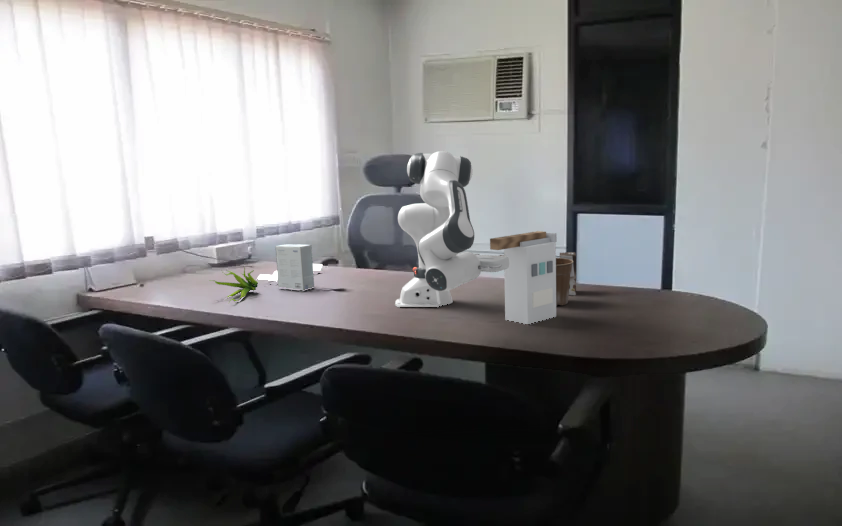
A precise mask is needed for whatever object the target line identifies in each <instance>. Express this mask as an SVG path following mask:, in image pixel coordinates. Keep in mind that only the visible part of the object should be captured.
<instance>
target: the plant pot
mask: <svg viewBox="0 0 842 526" xmlns="http://www.w3.org/2000/svg"><path fill="white" fill-rule="evenodd" d="M572 264H573V260H570V259H565V258H560V257H556V307H557V306H566V305H568V303H569V296H570V295H569V283H570V273H571V271H572Z"/></svg>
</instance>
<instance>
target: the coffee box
mask: <svg viewBox="0 0 842 526" xmlns="http://www.w3.org/2000/svg"><path fill="white" fill-rule="evenodd" d="M559 258H565V259H570V260H573V264H572V271H571V273H570V283H569V295H568V296H576V295H577V254H576V252H575V251H573V252H572V251H570V252H569V251H568V252H567V251H566V252H565V251H564V252H559Z"/></svg>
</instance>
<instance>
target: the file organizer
mask: <svg viewBox="0 0 842 526" xmlns="http://www.w3.org/2000/svg"><path fill="white" fill-rule="evenodd" d="M313 271H323V272H324V265H323V264H322V263H313ZM313 273H314V272H313ZM257 279H258V280H268V281H276V282H277V281H278V273H277V270H275V271H273V273H272V274H267V273H265V274H264V273H263V274H262V273H260V274H259V275H258V276H257V277H256V280H257Z"/></svg>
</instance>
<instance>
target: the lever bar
mask: <svg viewBox="0 0 842 526" xmlns="http://www.w3.org/2000/svg"><path fill="white" fill-rule="evenodd" d="M546 233H547V231H543V230H541V231H540V230H537V231H530V232H525V233H516V234H511V235H504V236H498V237H493V238H489V248H490V249H489V250H491V251H492V250H494V251H501V250H504V249H508V248H514V247H520V242H524V241H530V240H536V239H542V238H546Z"/></svg>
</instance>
